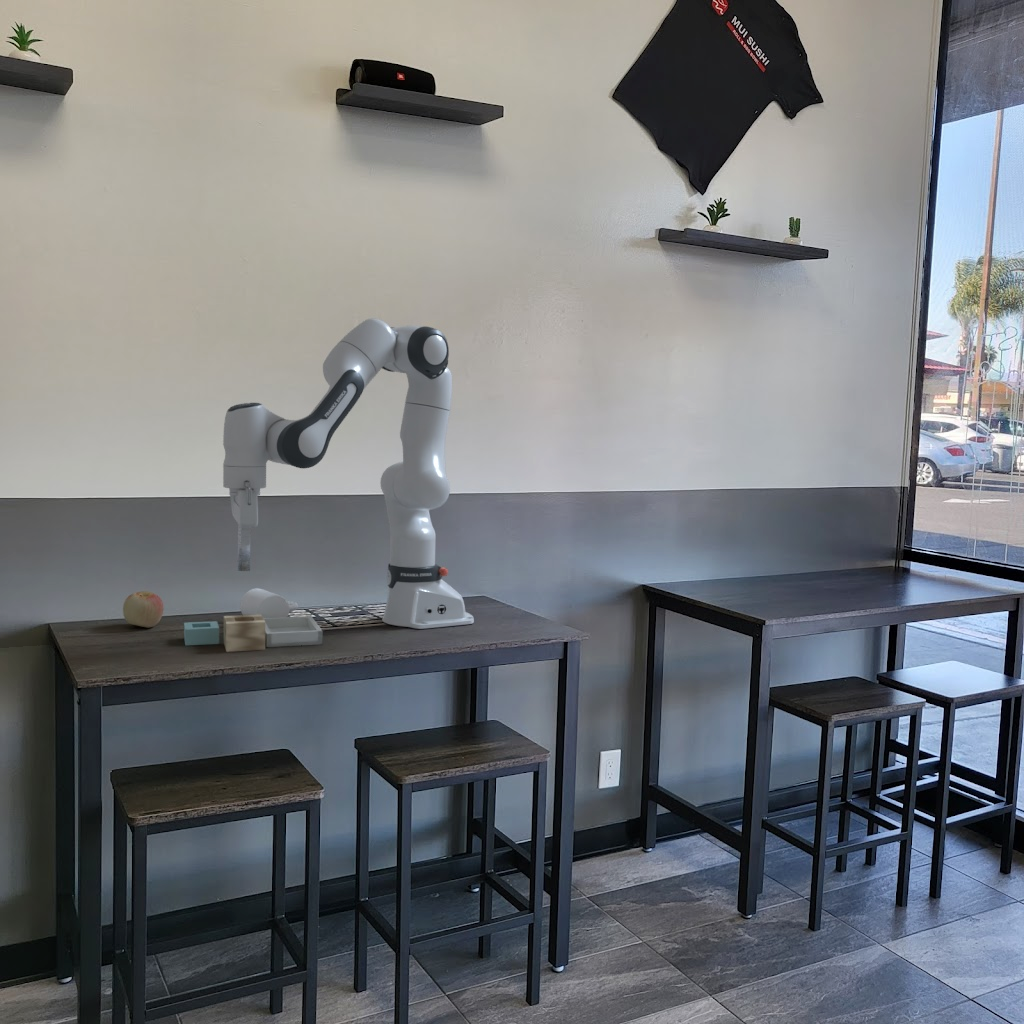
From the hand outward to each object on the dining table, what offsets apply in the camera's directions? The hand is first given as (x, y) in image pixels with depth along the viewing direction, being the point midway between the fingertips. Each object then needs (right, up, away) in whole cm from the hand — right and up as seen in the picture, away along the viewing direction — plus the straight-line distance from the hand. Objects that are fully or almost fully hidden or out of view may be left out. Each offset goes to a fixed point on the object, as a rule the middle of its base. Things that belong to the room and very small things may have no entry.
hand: (244, 543), depth 213 cm
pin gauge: (0, -6, +1) cm, 6 cm away
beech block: (-1, -22, +2) cm, 22 cm away
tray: (+7, -22, +12) cm, 25 cm away
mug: (0, -20, +26) cm, 33 cm away
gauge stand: (-11, -22, +6) cm, 25 cm away
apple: (-28, -20, +18) cm, 39 cm away
